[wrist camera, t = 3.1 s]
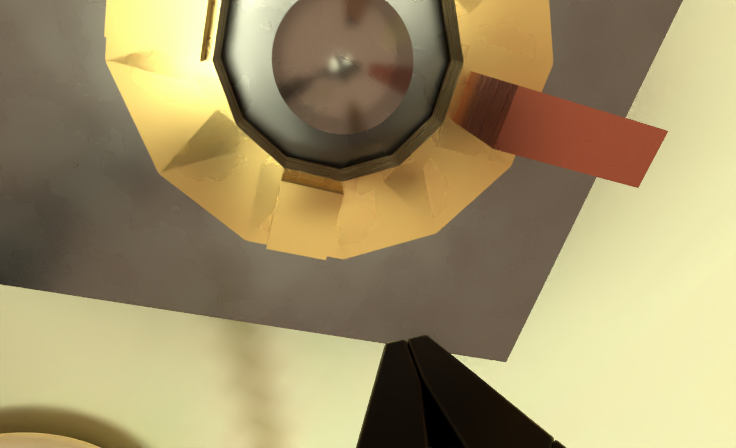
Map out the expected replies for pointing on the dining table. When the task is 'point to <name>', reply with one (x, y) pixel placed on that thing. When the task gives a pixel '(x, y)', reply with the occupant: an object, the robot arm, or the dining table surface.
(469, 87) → the ring nut
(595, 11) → the cap plate
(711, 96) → the dining table surface
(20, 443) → the flower in vase
